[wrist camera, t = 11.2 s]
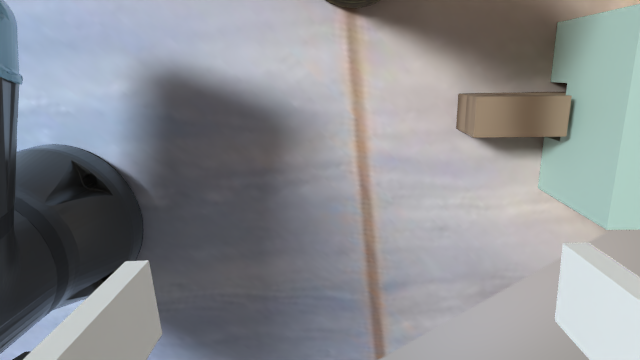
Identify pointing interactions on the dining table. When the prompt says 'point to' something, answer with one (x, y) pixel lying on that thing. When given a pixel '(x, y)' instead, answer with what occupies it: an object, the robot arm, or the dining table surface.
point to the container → (352, 3)
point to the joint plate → (598, 119)
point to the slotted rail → (514, 114)
